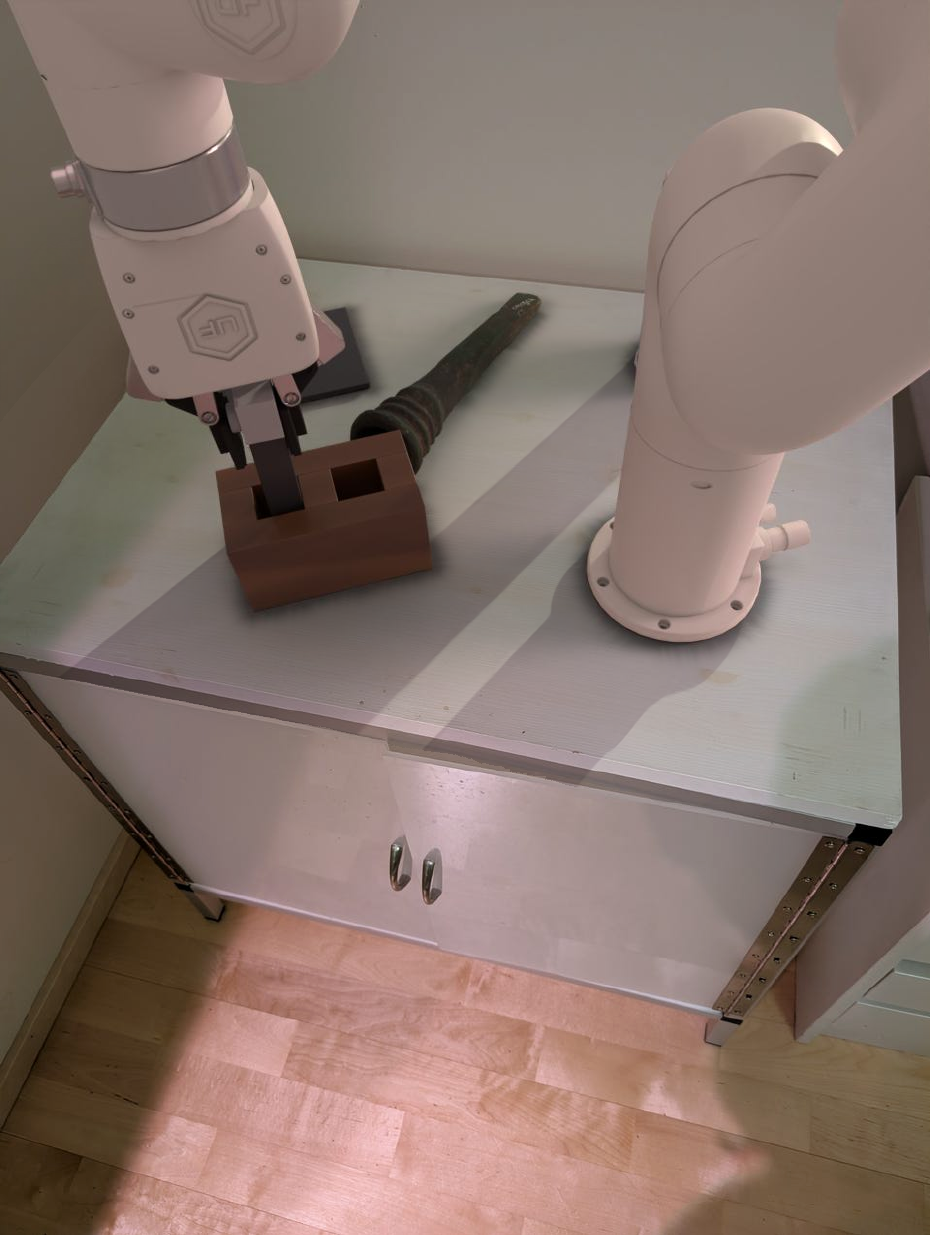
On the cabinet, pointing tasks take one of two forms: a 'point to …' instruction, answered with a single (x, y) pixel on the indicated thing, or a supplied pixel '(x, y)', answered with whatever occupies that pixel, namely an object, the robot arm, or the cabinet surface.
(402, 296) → the cabinet surface
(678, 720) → the cabinet surface
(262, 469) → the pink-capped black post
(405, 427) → the tool
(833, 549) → the cabinet surface
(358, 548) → the holder
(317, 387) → the mat
